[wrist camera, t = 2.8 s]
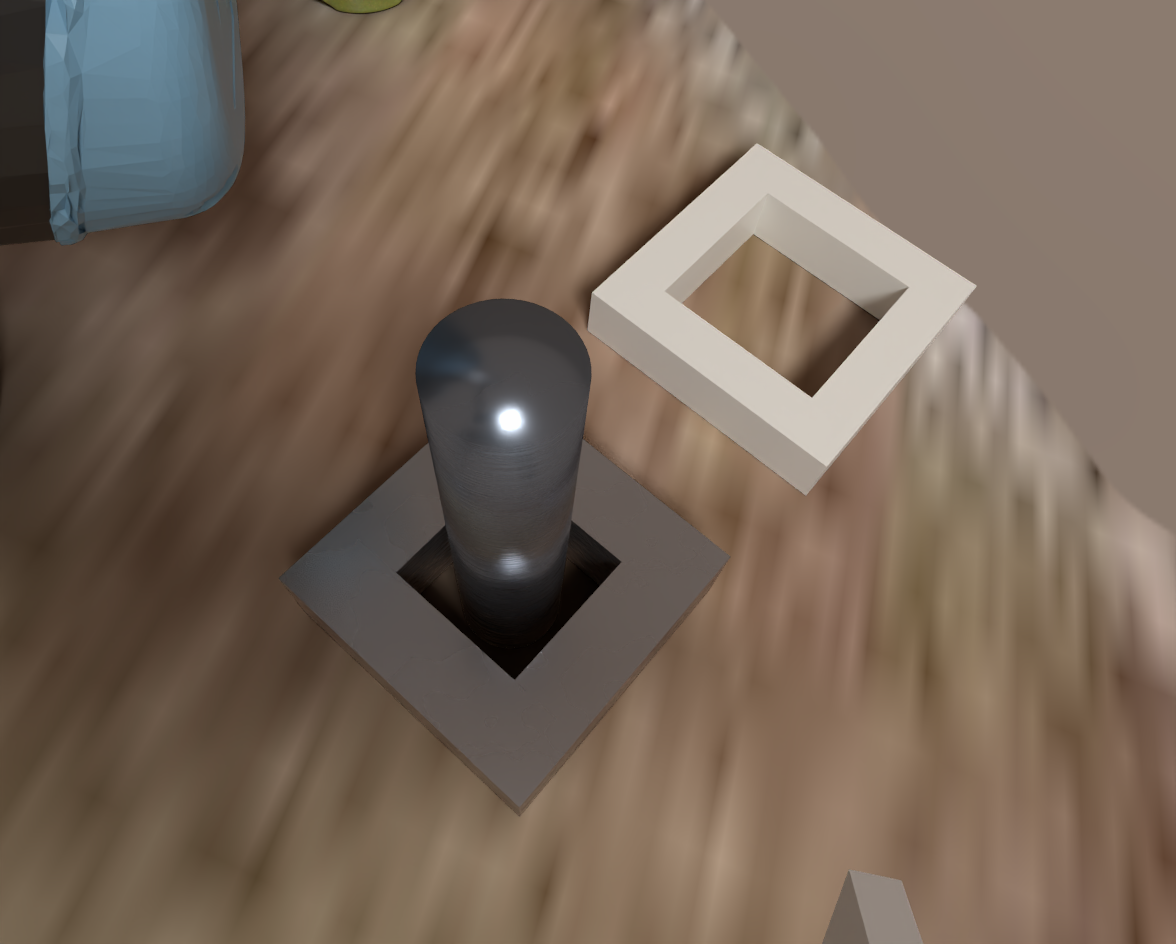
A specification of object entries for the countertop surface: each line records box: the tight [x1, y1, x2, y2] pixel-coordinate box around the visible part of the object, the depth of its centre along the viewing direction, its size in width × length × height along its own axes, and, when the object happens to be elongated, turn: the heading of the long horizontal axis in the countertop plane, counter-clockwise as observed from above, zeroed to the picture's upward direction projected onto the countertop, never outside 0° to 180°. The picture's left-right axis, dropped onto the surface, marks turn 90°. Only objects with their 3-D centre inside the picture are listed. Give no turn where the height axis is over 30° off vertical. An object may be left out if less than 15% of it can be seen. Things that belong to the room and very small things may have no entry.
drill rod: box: [416, 299, 591, 649], centre depth 23 cm, size 3×3×15 cm
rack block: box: [587, 144, 976, 495], centre depth 35 cm, size 11×11×2 cm
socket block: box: [279, 439, 730, 817], centre depth 29 cm, size 10×10×4 cm
